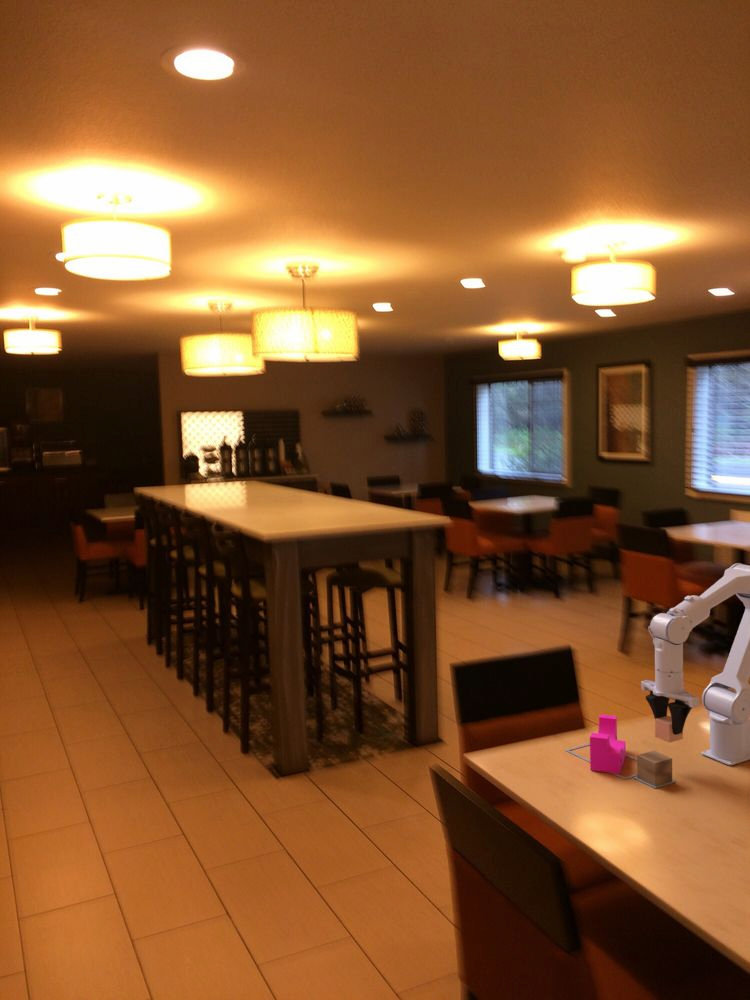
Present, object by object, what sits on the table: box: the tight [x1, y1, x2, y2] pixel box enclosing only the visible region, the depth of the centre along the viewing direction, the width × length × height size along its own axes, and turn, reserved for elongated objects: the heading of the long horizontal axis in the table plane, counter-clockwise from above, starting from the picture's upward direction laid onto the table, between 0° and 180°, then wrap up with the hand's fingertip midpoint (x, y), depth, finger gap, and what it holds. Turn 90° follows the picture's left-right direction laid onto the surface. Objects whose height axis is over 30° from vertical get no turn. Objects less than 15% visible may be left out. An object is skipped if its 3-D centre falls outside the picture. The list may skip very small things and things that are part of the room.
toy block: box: [589, 714, 627, 775], centre depth 179 cm, size 15×6×8 cm, turn 155°
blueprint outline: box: [565, 743, 676, 790], centre depth 177 cm, size 10×25×1 cm, turn 28°
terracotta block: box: [654, 715, 684, 744], centre depth 172 cm, size 4×4×4 cm
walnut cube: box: [636, 750, 673, 786], centre depth 168 cm, size 5×5×5 cm
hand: (669, 730), depth 172 cm, fingers closed on terracotta block, 4 cm apart
